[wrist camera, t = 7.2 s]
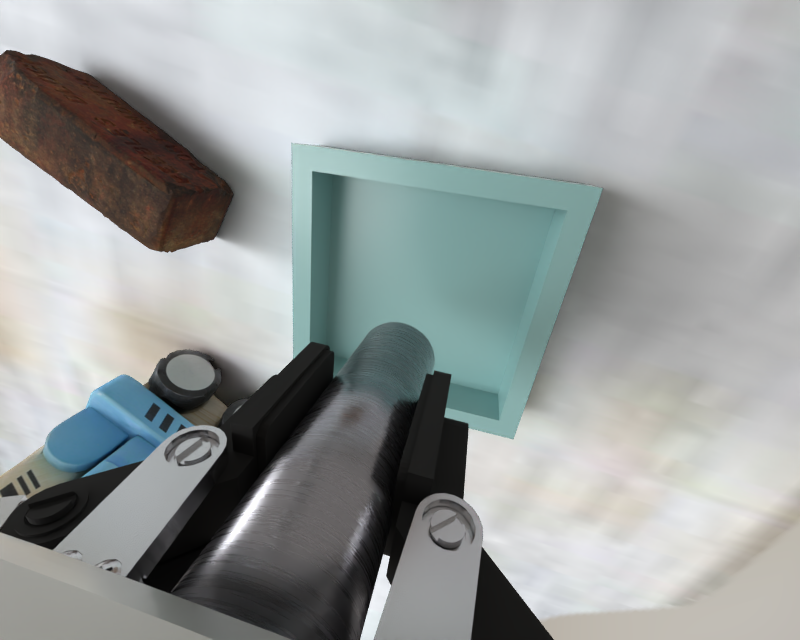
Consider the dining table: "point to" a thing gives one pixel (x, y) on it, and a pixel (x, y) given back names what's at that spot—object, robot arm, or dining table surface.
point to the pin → (321, 502)
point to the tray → (436, 267)
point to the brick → (108, 154)
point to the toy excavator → (124, 424)
